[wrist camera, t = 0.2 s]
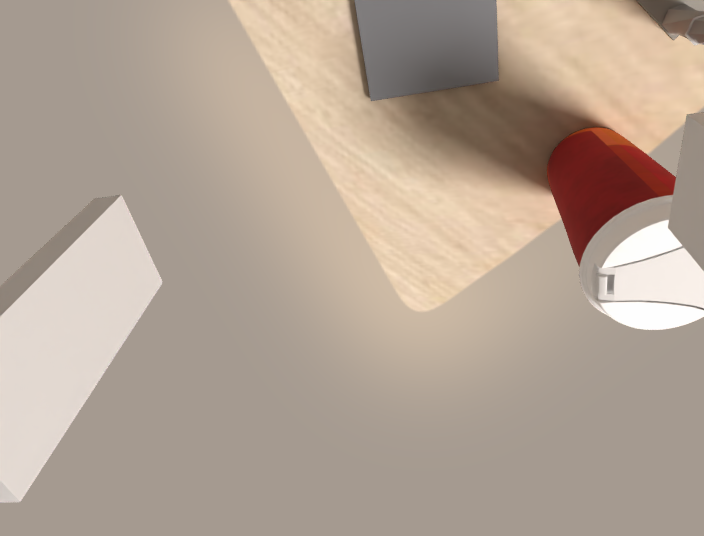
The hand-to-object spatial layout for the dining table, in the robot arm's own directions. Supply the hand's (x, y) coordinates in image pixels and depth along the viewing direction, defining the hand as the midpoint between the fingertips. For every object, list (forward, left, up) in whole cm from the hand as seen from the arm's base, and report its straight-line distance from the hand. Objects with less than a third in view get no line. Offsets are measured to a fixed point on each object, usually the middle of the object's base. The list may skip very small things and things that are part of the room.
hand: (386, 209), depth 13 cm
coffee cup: (+12, +13, -28) cm, 33 cm away
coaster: (0, +2, -27) cm, 27 cm away
